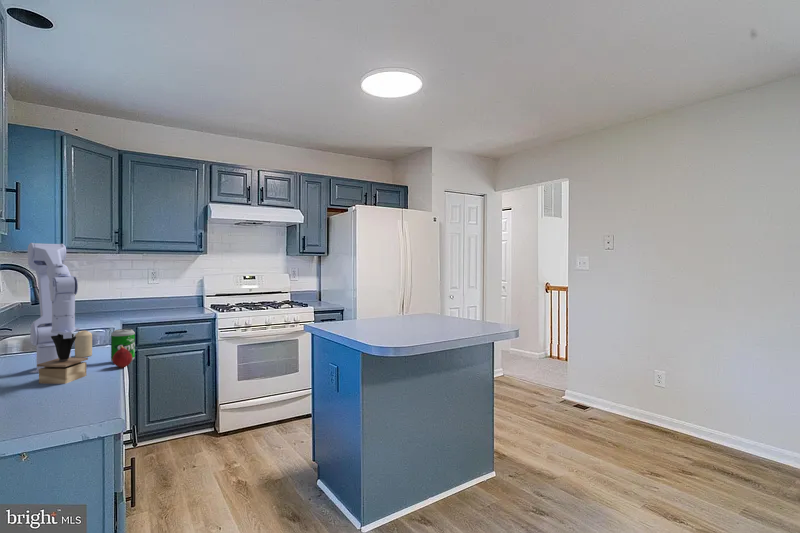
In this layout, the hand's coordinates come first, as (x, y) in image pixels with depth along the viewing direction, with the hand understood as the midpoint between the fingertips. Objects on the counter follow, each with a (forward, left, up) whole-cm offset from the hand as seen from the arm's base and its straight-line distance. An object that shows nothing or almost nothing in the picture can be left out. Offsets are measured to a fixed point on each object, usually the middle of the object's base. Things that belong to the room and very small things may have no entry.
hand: (63, 358), depth 136 cm
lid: (0, 0, -1) cm, 1 cm away
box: (0, 0, -7) cm, 7 cm away
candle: (-35, -18, -8) cm, 40 cm away
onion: (-16, +9, -7) cm, 20 cm away
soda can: (-26, +3, -8) cm, 27 cm away
